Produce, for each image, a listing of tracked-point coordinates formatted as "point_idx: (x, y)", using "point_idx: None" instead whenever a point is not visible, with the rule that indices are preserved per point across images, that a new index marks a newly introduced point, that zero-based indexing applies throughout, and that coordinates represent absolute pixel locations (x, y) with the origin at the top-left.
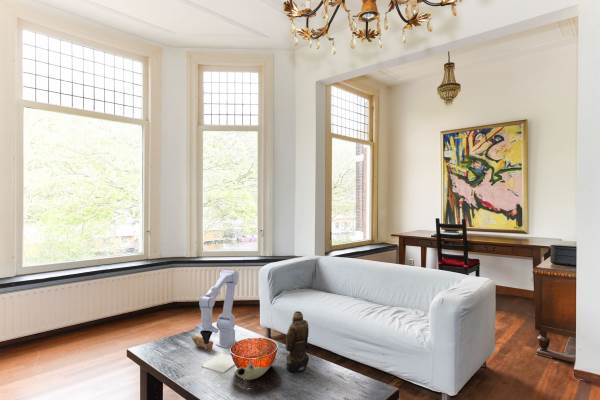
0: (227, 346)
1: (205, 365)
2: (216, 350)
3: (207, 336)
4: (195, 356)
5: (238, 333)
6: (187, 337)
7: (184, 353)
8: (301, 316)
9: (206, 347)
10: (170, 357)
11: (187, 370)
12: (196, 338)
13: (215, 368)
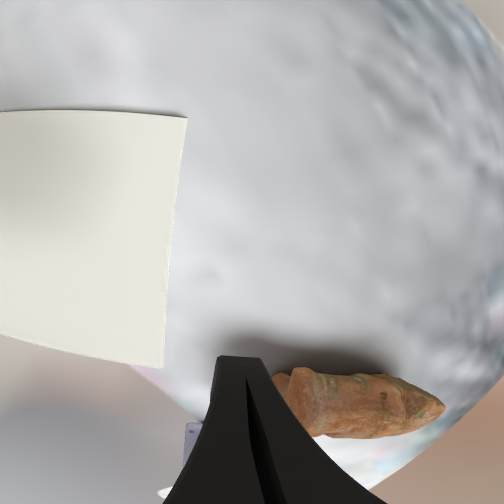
0: (190, 433)
1: (151, 139)
2: None
3: (174, 495)
4: (351, 273)
5: None
6: (451, 404)
7: (440, 280)
8: None
9: (300, 378)
10: (498, 201)
11: (287, 19)
12: (416, 413)
13: (36, 134)
